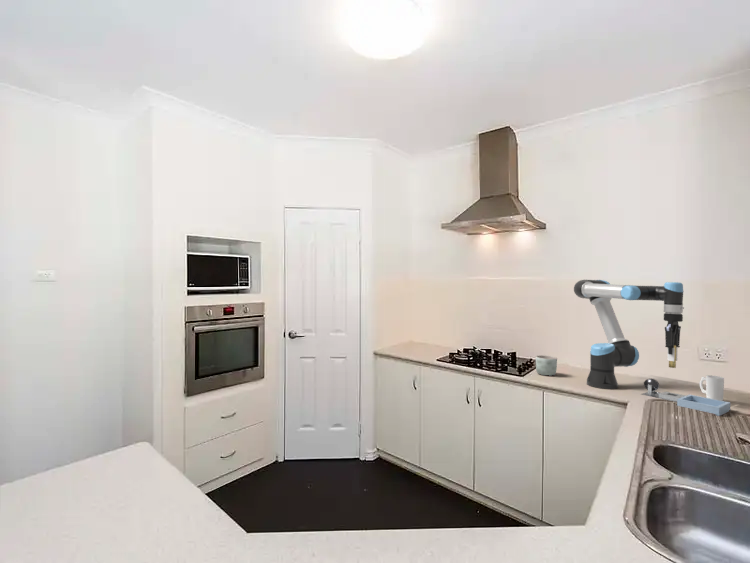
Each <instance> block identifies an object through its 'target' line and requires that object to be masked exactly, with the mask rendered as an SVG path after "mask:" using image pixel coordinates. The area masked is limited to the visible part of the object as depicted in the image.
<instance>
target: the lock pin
mask: <svg viewBox="0 0 750 563" xmlns="http://www.w3.org/2000/svg"><path fill="white" fill-rule="evenodd" d="M674 348H675V359H674V361H668V368H670V369H671V368H672V369H676V367H677V361H676V345H674Z"/></svg>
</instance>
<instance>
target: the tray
mask: <svg viewBox="0 0 750 563" xmlns="http://www.w3.org/2000/svg"><path fill="white" fill-rule="evenodd" d="M676 406H677V407H682V408H687V409H691V410H695V411H701V412H705V413H710V414H714V416H717V417H720V416H723V415H724V414H726V413H728V412H730V411H731V402H730V401H724V400H723V401H720V400H715V399H710V398H706V397H703V396H700V395H699V396H698V395H694V394H686V396H684V397H681V398H679V399H677V402H676ZM729 410H730V411H729Z"/></svg>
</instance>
